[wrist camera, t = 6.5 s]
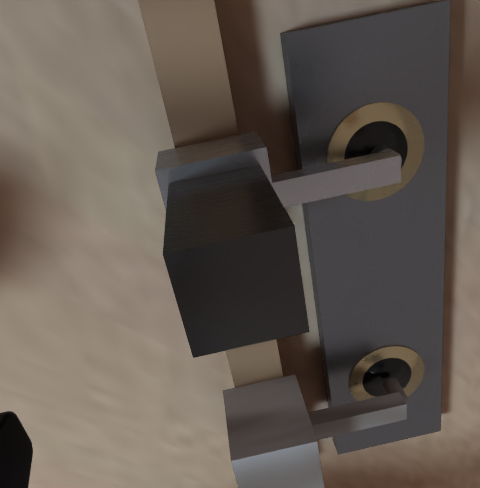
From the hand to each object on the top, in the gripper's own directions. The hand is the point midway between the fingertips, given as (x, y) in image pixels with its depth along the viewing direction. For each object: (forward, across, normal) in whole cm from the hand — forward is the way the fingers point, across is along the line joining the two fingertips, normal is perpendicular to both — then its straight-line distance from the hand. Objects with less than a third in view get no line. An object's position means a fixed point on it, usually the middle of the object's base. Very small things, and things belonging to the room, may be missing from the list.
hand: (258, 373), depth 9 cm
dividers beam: (+12, -3, +6) cm, 13 cm away
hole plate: (+12, -6, +6) cm, 15 cm away
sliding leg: (+10, -3, 0) cm, 11 cm away
